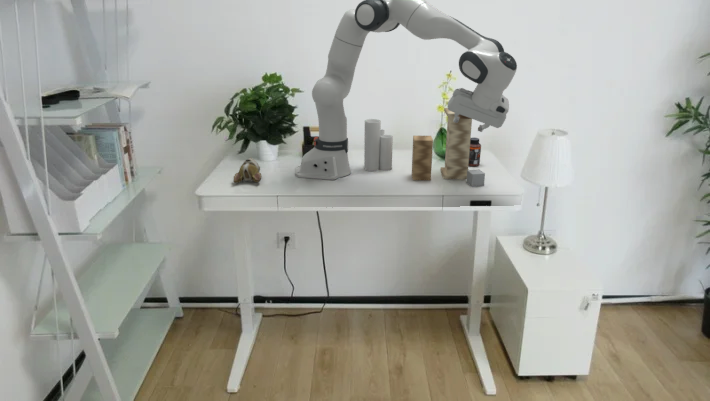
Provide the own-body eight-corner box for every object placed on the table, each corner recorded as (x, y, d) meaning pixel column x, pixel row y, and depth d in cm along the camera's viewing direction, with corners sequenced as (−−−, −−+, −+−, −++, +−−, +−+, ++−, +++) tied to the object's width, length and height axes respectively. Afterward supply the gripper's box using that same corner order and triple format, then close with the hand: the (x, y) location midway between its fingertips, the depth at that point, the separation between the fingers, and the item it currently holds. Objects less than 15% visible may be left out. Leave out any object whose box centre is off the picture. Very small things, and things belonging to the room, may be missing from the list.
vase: (365, 171, 224) (365, 123, 217) (363, 165, 231) (363, 119, 223) (392, 170, 225) (394, 122, 218) (389, 164, 232) (390, 118, 225)
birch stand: (443, 179, 215) (447, 113, 206) (440, 171, 225) (444, 107, 215) (471, 179, 215) (477, 113, 205) (467, 171, 224) (472, 108, 215)
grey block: (471, 187, 208) (472, 174, 206) (466, 182, 212) (467, 170, 210) (483, 185, 209) (485, 173, 207) (478, 181, 213) (479, 169, 211)
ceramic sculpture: (264, 153, 218) (259, 166, 204) (265, 173, 222) (260, 188, 208) (237, 153, 218) (230, 167, 204) (239, 173, 221) (232, 188, 208)
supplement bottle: (479, 167, 229) (481, 140, 225) (465, 166, 230) (467, 140, 226) (479, 162, 235) (481, 137, 231) (465, 162, 236) (467, 136, 232)
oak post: (412, 180, 214) (414, 140, 208) (411, 174, 221) (413, 135, 215) (430, 180, 214) (433, 140, 208) (429, 174, 221) (431, 135, 215)
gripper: (456, 91, 182) (439, 121, 192) (512, 112, 184) (493, 141, 194) (457, 80, 186) (441, 110, 197) (512, 101, 188) (493, 129, 199)
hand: (467, 126), depth 196 cm, fingers open, 8 cm apart
